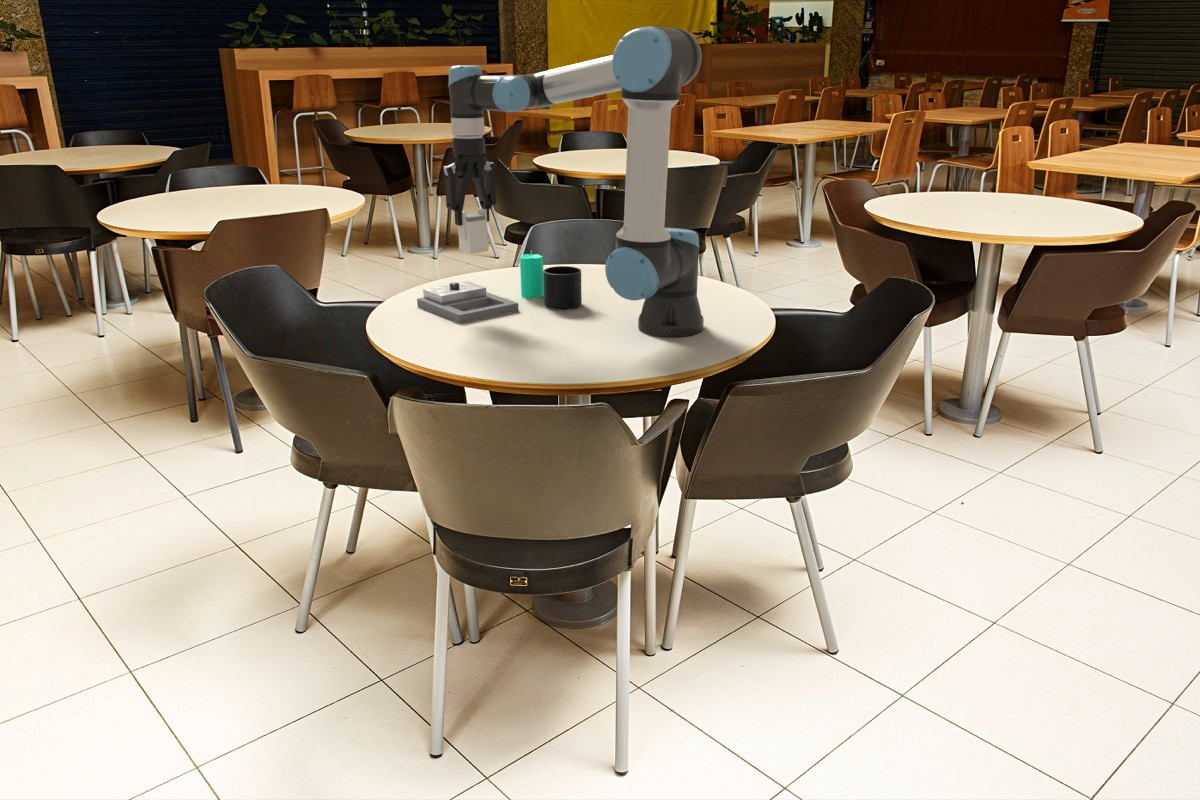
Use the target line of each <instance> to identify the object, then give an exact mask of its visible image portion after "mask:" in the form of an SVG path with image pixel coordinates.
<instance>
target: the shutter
mask: <svg viewBox="0 0 1200 800" xmlns="http://www.w3.org/2000/svg"><path fill="white" fill-rule="evenodd" d="M486 292H487V287H485V286H484V285H483V286H482V285H480V284H477V283H474V282H470V281H467V280H466V281H461V282H451V283H449V284H443V285H439V286H433V287H426V288H423V289H422V293H423V297H425V298H428V299H430V300H433V301H436V302H438V303H441V304H444V303H450V302H455V301H460V300H465V299H470V298H475V297H480V296H485V295H486Z"/></svg>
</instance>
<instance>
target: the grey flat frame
mask: <svg viewBox="0 0 1200 800" xmlns="http://www.w3.org/2000/svg"><path fill="white" fill-rule="evenodd" d="M416 304H417V305H416V306H417V307H418V308H420V309H423V310H426V311H428V312H430V313H433V314H436V315H438V316H440V317H443V318H445V319H448V320H449V321H453V322H455V323H457V324H462V323H467V322H468V323H469V322H473V321H477V320H478V321H479V320H482V319H486V318H491V317H492V318H493V317H496V316H501V315H506V314H511V313H516V312H519V308H520V307H519V302H516V301H513V300H510V299H508V298H506V297H502V296H500V295H498V294H497V295H496V294H493V293H490V292H487V291H486V295H485V296H480V297H475V298H470V299H465V300H460V301H455V302H450V303H444V304H441V303H438V302H436V301H433V300H430V299H428V298H425V297H424V296H423V297H419V298H416ZM515 311H516V312H515ZM510 312H511V313H510Z"/></svg>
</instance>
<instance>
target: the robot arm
mask: <svg viewBox="0 0 1200 800" xmlns="http://www.w3.org/2000/svg"><path fill="white" fill-rule="evenodd" d="M613 50H614V51H613V54H611V55H608V56H603V57H599V58H595V59H589V60H585V61H583V62H582V61H581V62H579V63H574V64H569V65H566V66H561V67H556V68H553V69H548V70H545V71H539V72H536V73H529V74H528V73H527V74H511V75H510V74H507V75H506V74H504V75H485V74H483V73H482V72H483V71H482V70H483V69H482V67H481V66H480V65H452V66H450V67H449V70H448V85H447V87H448V93H449V94H448V95H449V107H450V124H451V125H450V126H451V127H450V128H451V135H452V136H454V137H452V139H451V146H452V155H453V160H452V162H451V164H449V165H443V166H442V173H443V175H444V186H445V205H446V206H445V207H446V209H447V210H450V211H453V212H454V213H453V214H454V224H455V225H456V226H457V231H458V232H457V233H458V239H459V238H460V239H463V240H467V224H466V214H467V212H466V211H464V206H465V199H466V193H467V186H468V184H469V183H470V179H472V181H473V183H474V186H475V187H474V188H475V190H476V194H477V198H478V201H479V205H480V207H478V208H477V214H481V215H485V219H486V220H487V223H488V222H490V210H491V209H492V207H493V206H495V205H496V204H497V192H496V191H497V190H496V189H497V188H496V173H495V172H496V169H497V163H496V162H492V161H488V160H487V158H486V156H485V155H486V154H485V153H486V141H485V137H483V136H484V135H485V117H484V116H485V115H484V112H485V111H492V112H505V113H518V112H520V113H521V112H522V111H524V110H529V109H545V108H549V107H552V106H554V105H557V104H562V103H567V102H572V101H576V100H581V99H585V98H590V97H596V96H599V95H605V94H610V93H616V92H619V91H621V94H620V95H621V96H620V98H621V100H622V101H623V102H624V104H625V105H626V106H627V108H628V109H627V111H628V113H627V116H628V117H627V133H626V134H627V136H626V137H627V139H626V160H625V161H626V162H625V163H626V164H625V186H624V187H625V188H624V189H625V190H624V210H623V211H624V213H623V226H622V227H621V228H620V229H619V230H618V231H617V232H616V234H615V249H614V250H613V251H612V252H611V253H610V254H609V255H608V257H607V259H606V261H605V267H604V268H605V269H604V272H605V276H606V280H607V282H608V285H609V286H610V288H612V290H614V292H615V293H616V294H617V295H618V296H619V297H620V298H623V299H625V300H628V301H641V300H644V301H643V304H642V308H641V313H640V314H639V316H638V319H637V322H638V325H637V327H638V330H639V331H641V332H642V333H645V334H646V335H647V334H648V335H650V336H651V335H652V336H657V337H665V338H666V337H669V338H674V337H675V338H678V337H679V338H680V337H681V338H682V337H688V336H694V335H697V334H699V333H701V332H702V331H703V330H704V321H705V320H704V316H703V314H702V311H701V306H700V303H699V299H698V280H699V278H698V277H699V255H700V253H699V252H700V243H699V241H700V239H699V234H698V233H697V231H694V230H691V229H684V228H673V227H665V222H666V206H667V205H666V202H667V186H668V185H667V184H668V169H669V168H668V166H669V153H670V152H669V151H670V150H669V149H670V135H671V134H670V133H671V120H672V119H671V118H672V117H671V116H672V109H673V108H674V106H676V105H677V104H678V103H679V101H680V95H681V94H680V91H681V87H683V86H684V87H685V86H686V85H688V84H689V83H691V81H693V80H694V78H696V76H697V75H698V73H699V70H700V68H701V65H702V57H703V56H702V49H701V46H700V44H699V42H698V40H697V39H696V37H695V36H694V35H693V34H692V33H690V32H689V31H688V30H686V29H683V28H681V27H680V28H679V27H662V26H656V27H655V26H652V25H651V26H643V27H638V28H635V29H632V30H630V31H628V32H627V33H625V34H624V35H623V36H622V38H620V39H619V40H618V42H617V43H616V46H615V48H614V49H613ZM483 171H484V172H483ZM456 172H457V175H455V173H456ZM455 177H456V178H455Z"/></svg>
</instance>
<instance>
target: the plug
mask: <svg viewBox="0 0 1200 800" xmlns="http://www.w3.org/2000/svg"><path fill="white" fill-rule="evenodd" d="M466 224H467V240H463V239H460V238H459V237H458V248H459V249H458V250H459V251H461V252H463V253H466V254H470V255H472V254H477V253H484V252H488V251H489V238H488V236H489V235H488V222H487V220H486V219H485V215H481V214H478V212H477V213H476V212H473V213H472V212H471V213H466Z"/></svg>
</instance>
